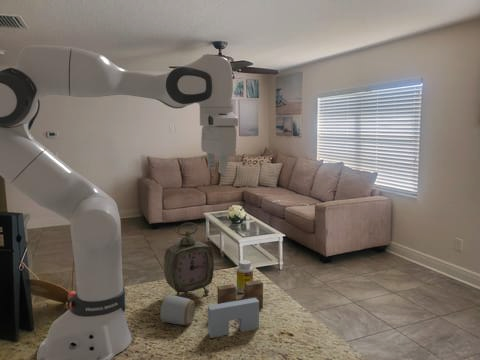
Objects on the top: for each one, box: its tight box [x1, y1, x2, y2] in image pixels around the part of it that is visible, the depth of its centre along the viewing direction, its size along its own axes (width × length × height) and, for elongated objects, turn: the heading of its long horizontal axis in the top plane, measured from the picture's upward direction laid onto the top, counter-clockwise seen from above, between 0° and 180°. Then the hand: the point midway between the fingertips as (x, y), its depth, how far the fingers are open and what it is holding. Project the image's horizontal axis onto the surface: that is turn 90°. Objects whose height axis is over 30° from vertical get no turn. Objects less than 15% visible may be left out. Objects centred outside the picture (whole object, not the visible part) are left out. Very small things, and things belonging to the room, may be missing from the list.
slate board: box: [207, 298, 260, 339], centre depth 105 cm, size 14×2×8 cm, turn 110°
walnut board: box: [216, 279, 264, 309], centre depth 117 cm, size 14×2×8 cm, turn 110°
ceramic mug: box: [159, 294, 196, 326], centre depth 111 cm, size 11×8×8 cm
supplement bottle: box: [236, 259, 254, 294], centre depth 130 cm, size 6×6×10 cm
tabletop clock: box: [163, 221, 215, 297], centre depth 126 cm, size 14×9×25 cm, turn 123°
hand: (216, 171), depth 103 cm, fingers open, 8 cm apart
